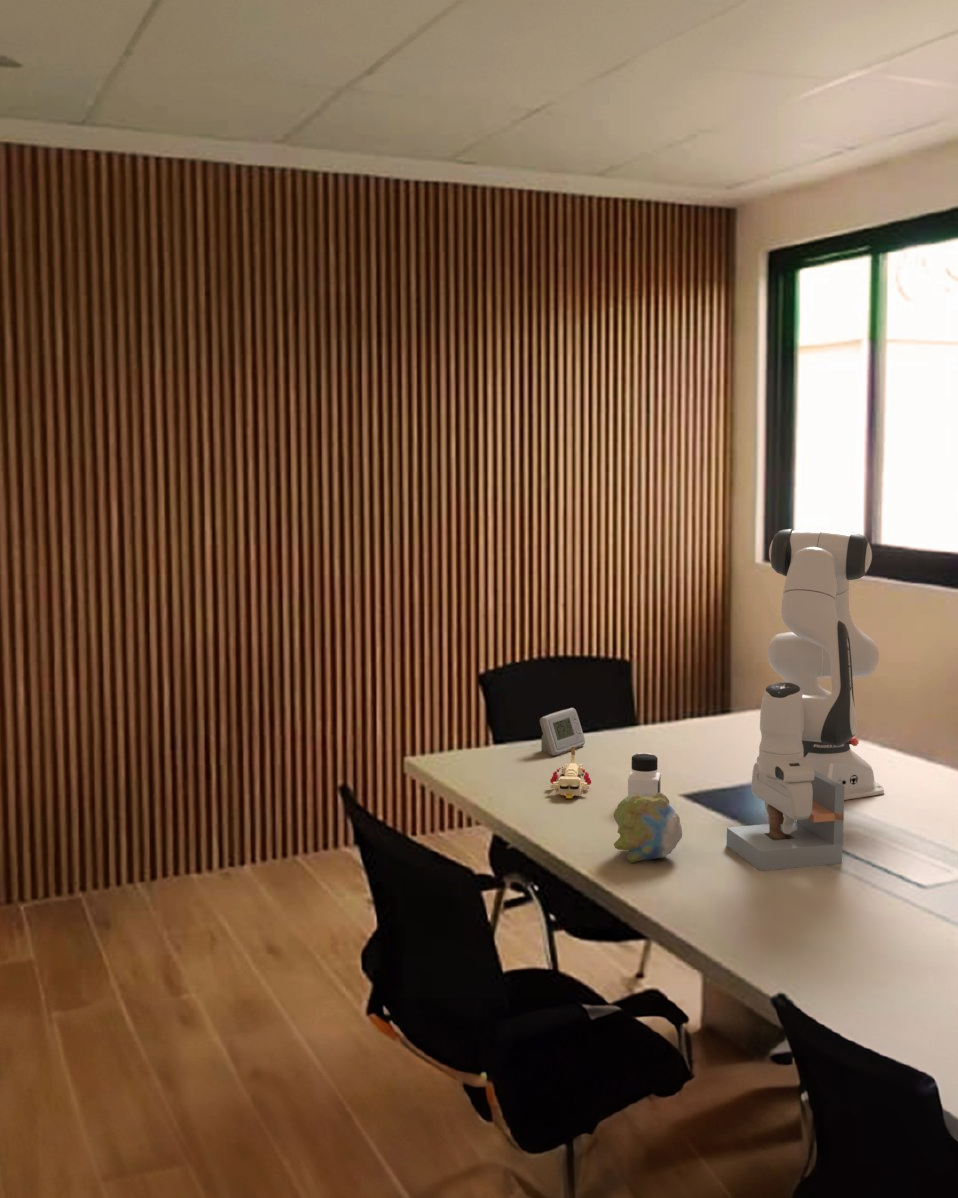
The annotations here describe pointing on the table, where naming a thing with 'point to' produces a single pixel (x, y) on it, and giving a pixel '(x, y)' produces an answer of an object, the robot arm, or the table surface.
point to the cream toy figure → (570, 778)
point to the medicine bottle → (644, 775)
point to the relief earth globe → (647, 826)
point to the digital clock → (561, 732)
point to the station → (798, 834)
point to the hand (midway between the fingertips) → (779, 828)
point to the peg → (776, 824)
